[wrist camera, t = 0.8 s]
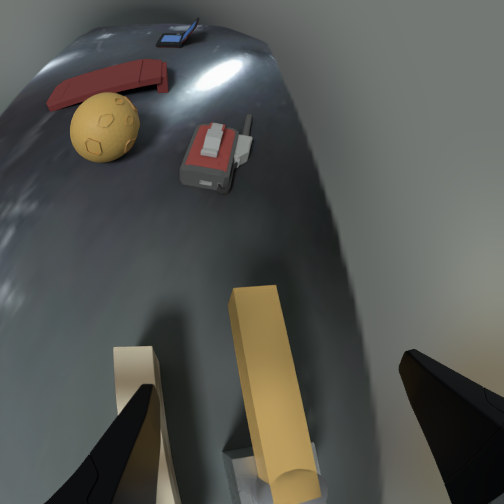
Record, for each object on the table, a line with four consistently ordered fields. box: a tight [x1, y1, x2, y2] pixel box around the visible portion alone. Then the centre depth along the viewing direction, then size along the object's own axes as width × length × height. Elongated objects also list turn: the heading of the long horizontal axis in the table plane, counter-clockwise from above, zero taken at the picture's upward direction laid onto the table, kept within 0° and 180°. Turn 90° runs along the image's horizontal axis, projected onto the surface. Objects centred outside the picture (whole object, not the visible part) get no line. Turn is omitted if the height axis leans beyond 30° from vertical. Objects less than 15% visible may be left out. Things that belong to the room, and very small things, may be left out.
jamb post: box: [222, 442, 326, 504], centre depth 19 cm, size 6×6×7 cm
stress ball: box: [70, 92, 140, 163], centre depth 34 cm, size 10×10×10 cm
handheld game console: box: [156, 18, 199, 48], centre depth 66 cm, size 12×11×7 cm
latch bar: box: [228, 285, 328, 504], centre depth 18 cm, size 16×4×3 cm, turn 10°
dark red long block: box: [47, 59, 168, 111], centre depth 49 cm, size 12×5×25 cm
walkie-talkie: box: [180, 114, 252, 194], centre depth 42 cm, size 9×4×20 cm
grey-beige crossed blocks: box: [114, 346, 181, 504], centre depth 16 cm, size 18×6×10 cm, turn 10°
